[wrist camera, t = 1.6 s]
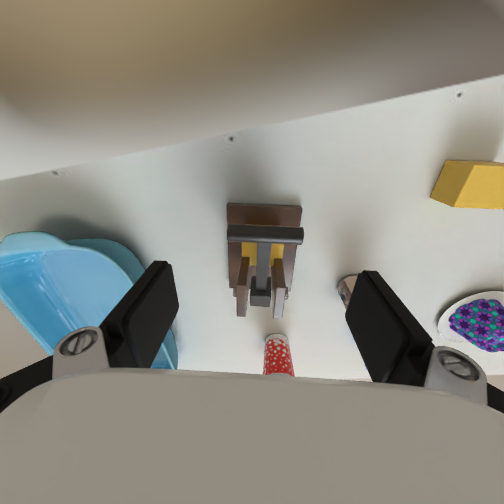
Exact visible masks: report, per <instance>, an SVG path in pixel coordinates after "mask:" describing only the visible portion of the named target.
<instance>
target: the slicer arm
mask: <svg viewBox="0 0 504 504" xmlns="http://www.w3.org/2000/svg"><path fill="white" fill-rule="evenodd" d="M303 238H304V230H303V227H290V226H267V225H245V224H228V228H227V240H228V241H229V242H250V243H257V264H256V276H252V277H251V290H250V306H262V307H269V306H270V300H271V277H268V270H269V262H270V254H271V246H272V244H292V245H302V243H303Z"/></svg>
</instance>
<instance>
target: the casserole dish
mask: <svg viewBox="0 0 504 504" xmlns="http://www.w3.org/2000/svg"><path fill="white" fill-rule="evenodd" d="M144 272H145V270H144V268H143V267H142V265H141V263H140V262H139V260H138V259H137V258H136V256H135V255H134V254H133V253H132V252H131V251H130V250H129V249H127V248H126V247H124V246H123V245H121V244H119V243H117V242H114V241H111V240H106V239H76V240H67V241H64V240H63V239H61V238H59V237H57V236H55V235H53V234H50V233H47V232H42V231H29V232H19V233H13V234H10V235H7V236H5V237H4V238H3V239H2V241H1V243H0V299H1V300H2V302H3V303H4V304H5V305H6V307H7V308H8V309H9V310H10V311H11V313H12V314H13V315H14V316H15V317H16V318H17V319H18V321H19V322H20V323H21V324H22V325H23V326H24V327H25V328H26V330H27V331H28V332H29V333H30V334H31V335H32V337H33V338H34V339H35V340H36V341H37V342H38V343H39V344H40V345H41V347H42V348H43V349H44V350H45V351H46V352H47V353H48V355H49V356H51V355H53V352H54V348H55V346H56V345H57V343H58V342H59V341H60V340H61V339H62V338H63V337H64V336H66V335H67V334H69V333H70V332H72V331H74V330H77V329H79V328H82V327H87V326H95V327H99V325H100V324H101V323H102V322H103V320H104V319H105V318H106V317H107V315H108V314H109V313H110V312H111V311H112V309H113V308H114V307H115V306H116V305H117V304H118V302H119V301H120V300H121V299H122V298H123V297H124V295H125V294H126V293H127V292H128V291H129V290H130V288H131V287H132V286H133V285H134V284H135V282H136V281H137V280H138V279H139V278H140V277H141V275H142V274H143V273H144ZM177 365H178V352H177V347H176V343H175V340H174V337H173V334H172V332H171V330H170V328H169V330H168V332H167V334H166V336H165V339H164V341H163V343H162V345H161V347H160V349H159V351H158V353H157V355H156V357H155V359H154V361H153V363H152V366H151V368H153V369H175V370H177Z"/></svg>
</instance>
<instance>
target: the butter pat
mask: <svg viewBox="0 0 504 504" xmlns="http://www.w3.org/2000/svg"><path fill="white" fill-rule="evenodd" d="M430 198H432V199H434V200H437V201H439V202H442V203H444V204H447V205H449V206H451V207H460V208H485V209H504V163H499V162H486V161H456V160H446V162H445V164H444V166H443V169H442V171H441V173H440V176H439V178H438V180H437V182H436V185H435V187H434V189H433V192H432V194H431V196H430Z"/></svg>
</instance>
